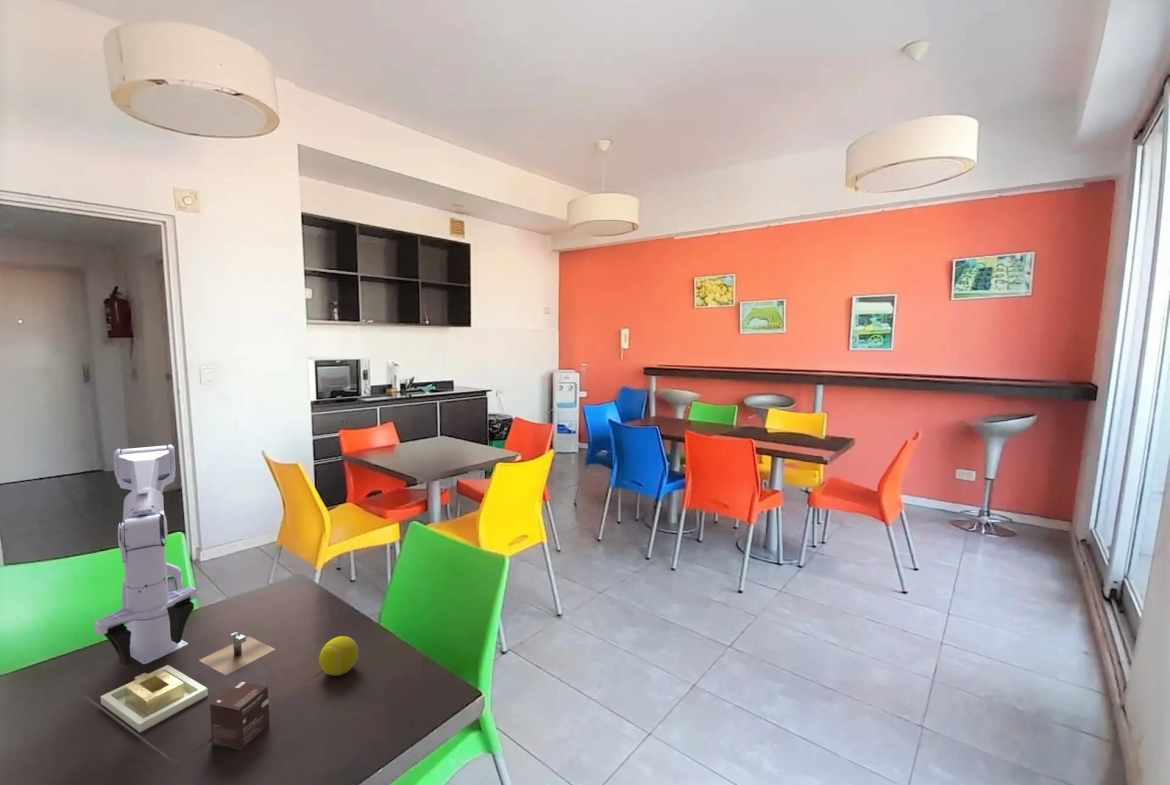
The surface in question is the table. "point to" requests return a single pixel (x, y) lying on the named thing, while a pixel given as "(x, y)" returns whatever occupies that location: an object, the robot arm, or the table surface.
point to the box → (239, 715)
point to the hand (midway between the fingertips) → (151, 651)
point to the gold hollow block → (145, 684)
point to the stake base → (229, 663)
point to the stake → (237, 642)
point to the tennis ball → (338, 655)
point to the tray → (142, 722)
